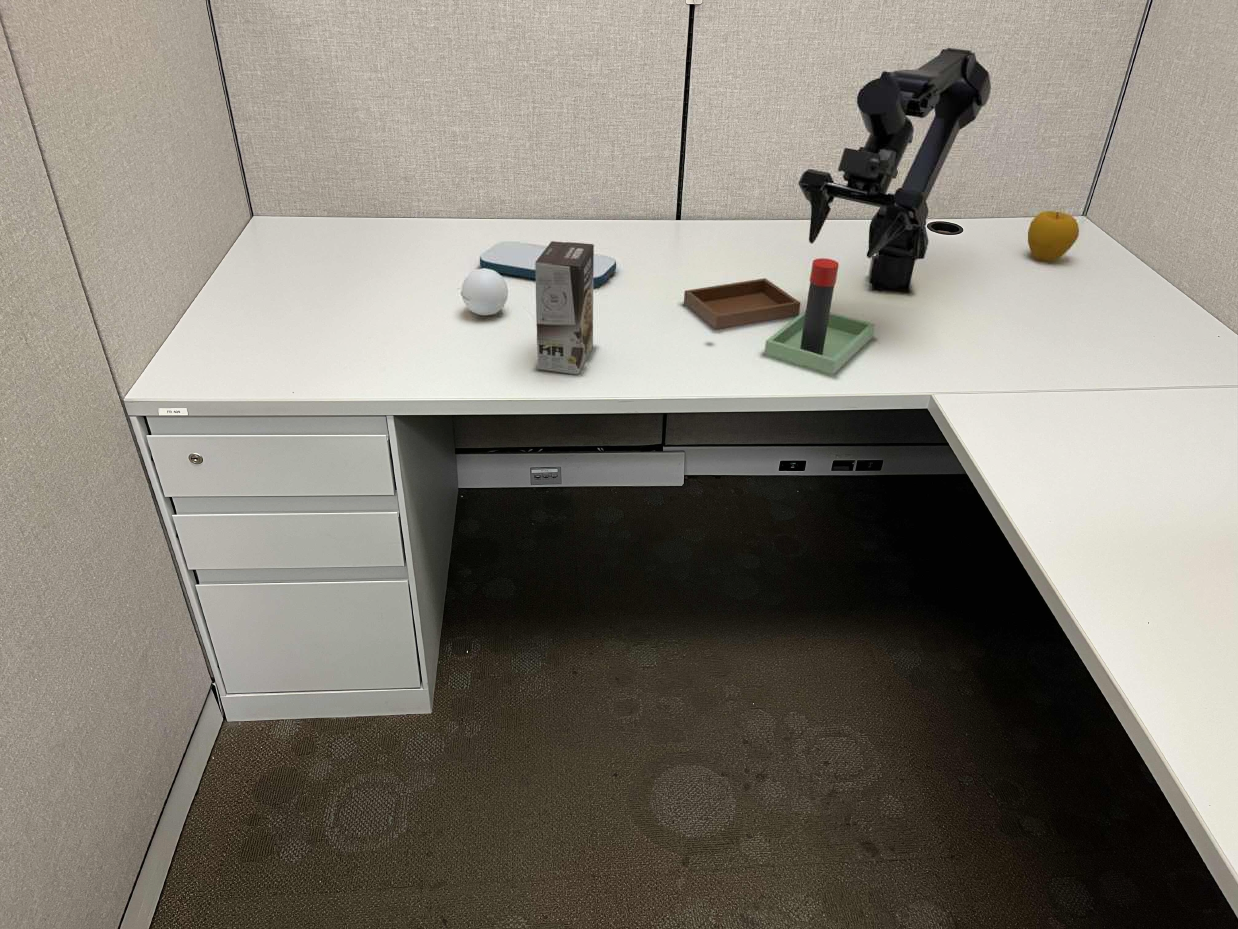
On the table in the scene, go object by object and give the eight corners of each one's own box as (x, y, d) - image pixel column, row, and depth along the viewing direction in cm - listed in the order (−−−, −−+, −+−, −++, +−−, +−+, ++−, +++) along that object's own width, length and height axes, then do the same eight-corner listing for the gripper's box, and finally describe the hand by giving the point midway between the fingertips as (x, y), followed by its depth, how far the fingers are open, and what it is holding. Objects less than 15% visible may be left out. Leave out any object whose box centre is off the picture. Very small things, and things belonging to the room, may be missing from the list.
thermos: (822, 348, 132) (838, 259, 124) (823, 359, 129) (839, 268, 121) (798, 346, 132) (812, 257, 125) (799, 356, 129) (813, 266, 122)
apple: (1073, 256, 168) (1087, 210, 163) (1065, 270, 162) (1080, 223, 157) (1026, 247, 171) (1039, 202, 166) (1017, 260, 165) (1030, 213, 160)
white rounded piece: (515, 307, 143) (513, 263, 139) (499, 325, 137) (497, 281, 133) (458, 299, 144) (454, 256, 140) (440, 318, 139) (435, 273, 134)
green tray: (807, 320, 141) (809, 306, 139) (872, 339, 136) (875, 324, 134) (763, 355, 130) (765, 340, 129) (832, 376, 125) (835, 361, 124)
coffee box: (580, 375, 124) (580, 266, 115) (536, 370, 125) (532, 261, 116) (594, 347, 131) (595, 242, 122) (553, 342, 132) (551, 238, 123)
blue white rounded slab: (473, 270, 155) (472, 260, 154) (502, 249, 164) (502, 239, 163) (598, 291, 148) (598, 280, 147) (621, 268, 157) (621, 257, 156)
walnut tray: (763, 291, 150) (765, 278, 149) (798, 316, 142) (800, 302, 141) (683, 304, 145) (684, 290, 144) (715, 331, 137) (716, 316, 135)
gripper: (811, 112, 127) (767, 210, 126) (937, 134, 118) (889, 239, 117) (829, 153, 136) (787, 244, 136) (946, 176, 127) (902, 273, 127)
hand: (838, 249), depth 129 cm, fingers open, 9 cm apart
